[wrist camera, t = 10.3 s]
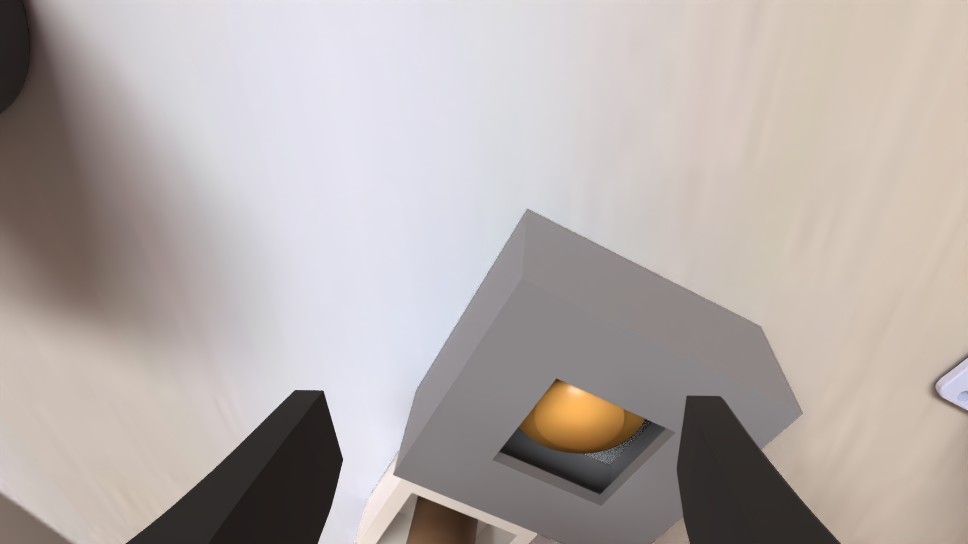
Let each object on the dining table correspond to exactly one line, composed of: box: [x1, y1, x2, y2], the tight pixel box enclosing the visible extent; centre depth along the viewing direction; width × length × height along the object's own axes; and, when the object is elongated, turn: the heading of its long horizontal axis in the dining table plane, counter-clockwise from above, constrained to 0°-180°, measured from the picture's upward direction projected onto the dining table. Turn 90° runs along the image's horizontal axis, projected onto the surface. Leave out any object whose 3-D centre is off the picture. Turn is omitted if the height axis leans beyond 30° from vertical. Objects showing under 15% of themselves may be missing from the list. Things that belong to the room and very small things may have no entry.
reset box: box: [393, 209, 803, 544], centre depth 22 cm, size 10×10×4 cm
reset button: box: [519, 378, 645, 454], centre depth 22 cm, size 5×5×1 cm
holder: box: [354, 450, 538, 544], centre depth 28 cm, size 6×6×3 cm
